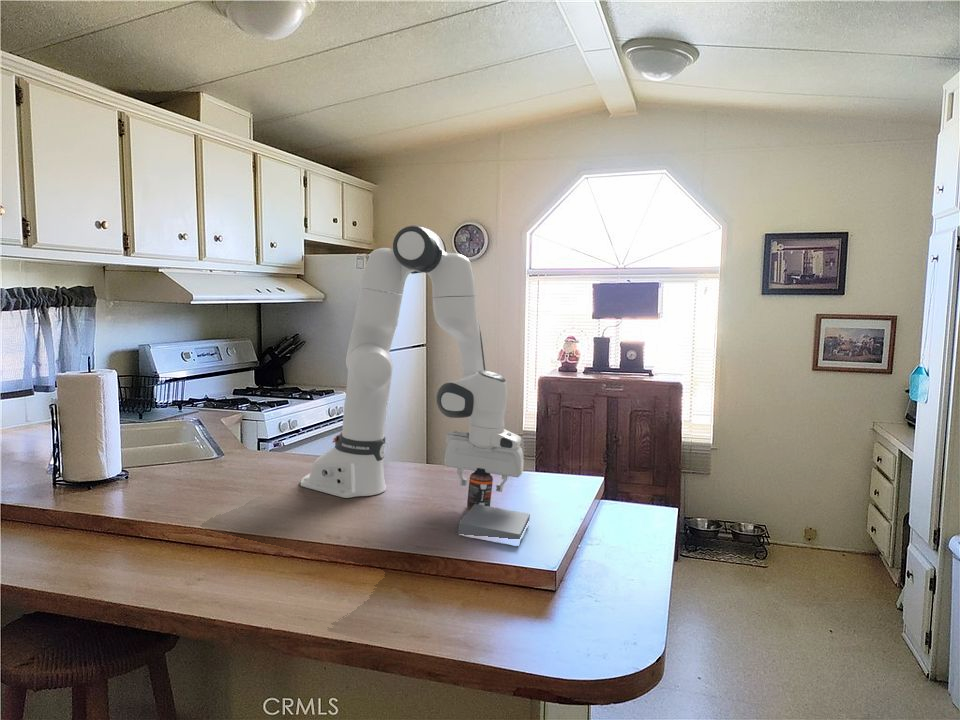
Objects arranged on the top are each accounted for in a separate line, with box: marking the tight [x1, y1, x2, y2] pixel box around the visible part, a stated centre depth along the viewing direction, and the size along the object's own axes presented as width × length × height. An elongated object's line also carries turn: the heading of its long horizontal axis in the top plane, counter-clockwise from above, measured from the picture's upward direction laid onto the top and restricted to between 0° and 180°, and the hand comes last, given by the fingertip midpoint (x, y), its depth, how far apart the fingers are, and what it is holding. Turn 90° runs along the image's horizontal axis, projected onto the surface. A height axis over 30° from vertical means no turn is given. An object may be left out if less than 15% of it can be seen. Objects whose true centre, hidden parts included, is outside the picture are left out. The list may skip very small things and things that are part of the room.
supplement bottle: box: [466, 468, 494, 511], centre depth 163 cm, size 6×6×11 cm
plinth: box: [457, 504, 531, 539], centre depth 151 cm, size 14×14×3 cm
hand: (481, 488), depth 164 cm, fingers open, 8 cm apart
